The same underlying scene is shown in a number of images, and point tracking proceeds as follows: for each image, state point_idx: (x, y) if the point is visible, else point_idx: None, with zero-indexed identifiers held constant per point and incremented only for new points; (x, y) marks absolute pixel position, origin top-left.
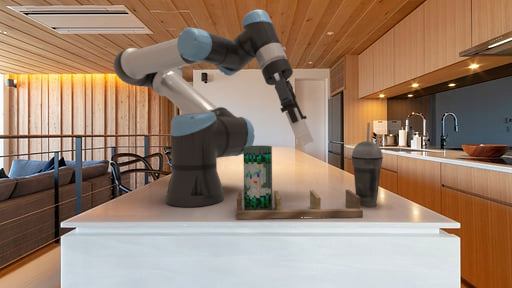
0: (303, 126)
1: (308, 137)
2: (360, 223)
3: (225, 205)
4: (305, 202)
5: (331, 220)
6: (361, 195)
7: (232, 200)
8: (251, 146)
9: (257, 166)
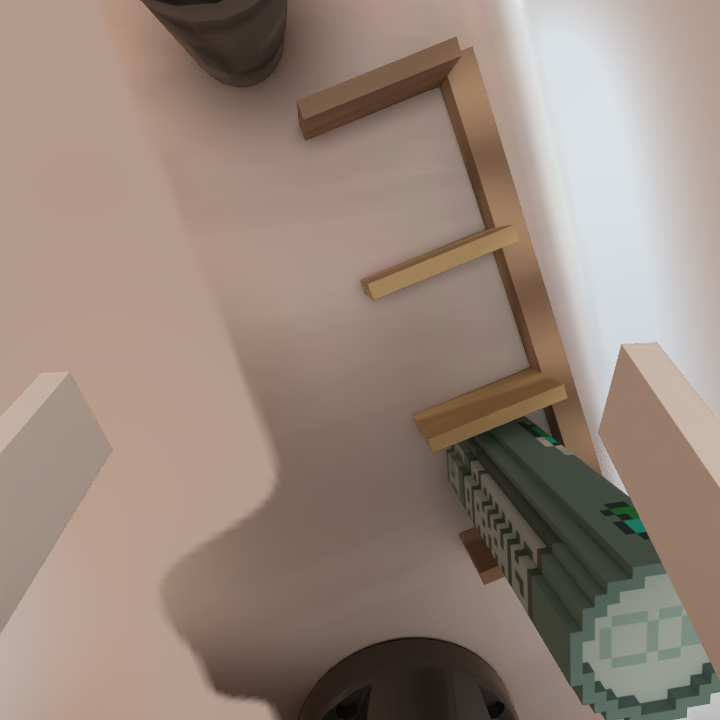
0: (699, 399)
1: (57, 436)
2: (537, 68)
3: (443, 600)
4: (298, 327)
5: (528, 180)
6: (279, 42)
7: (365, 611)
8: (616, 696)
9: None
